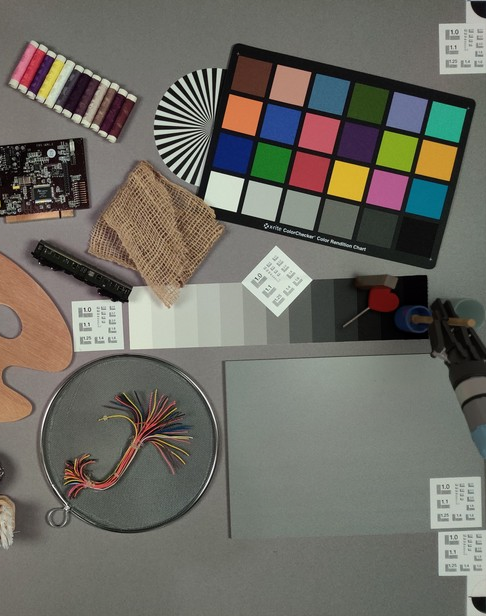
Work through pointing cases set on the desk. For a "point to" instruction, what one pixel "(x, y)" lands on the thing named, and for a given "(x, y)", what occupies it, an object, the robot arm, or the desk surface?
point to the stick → (450, 322)
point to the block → (375, 282)
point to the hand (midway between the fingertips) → (439, 303)
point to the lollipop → (380, 301)
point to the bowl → (404, 318)
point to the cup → (469, 310)
